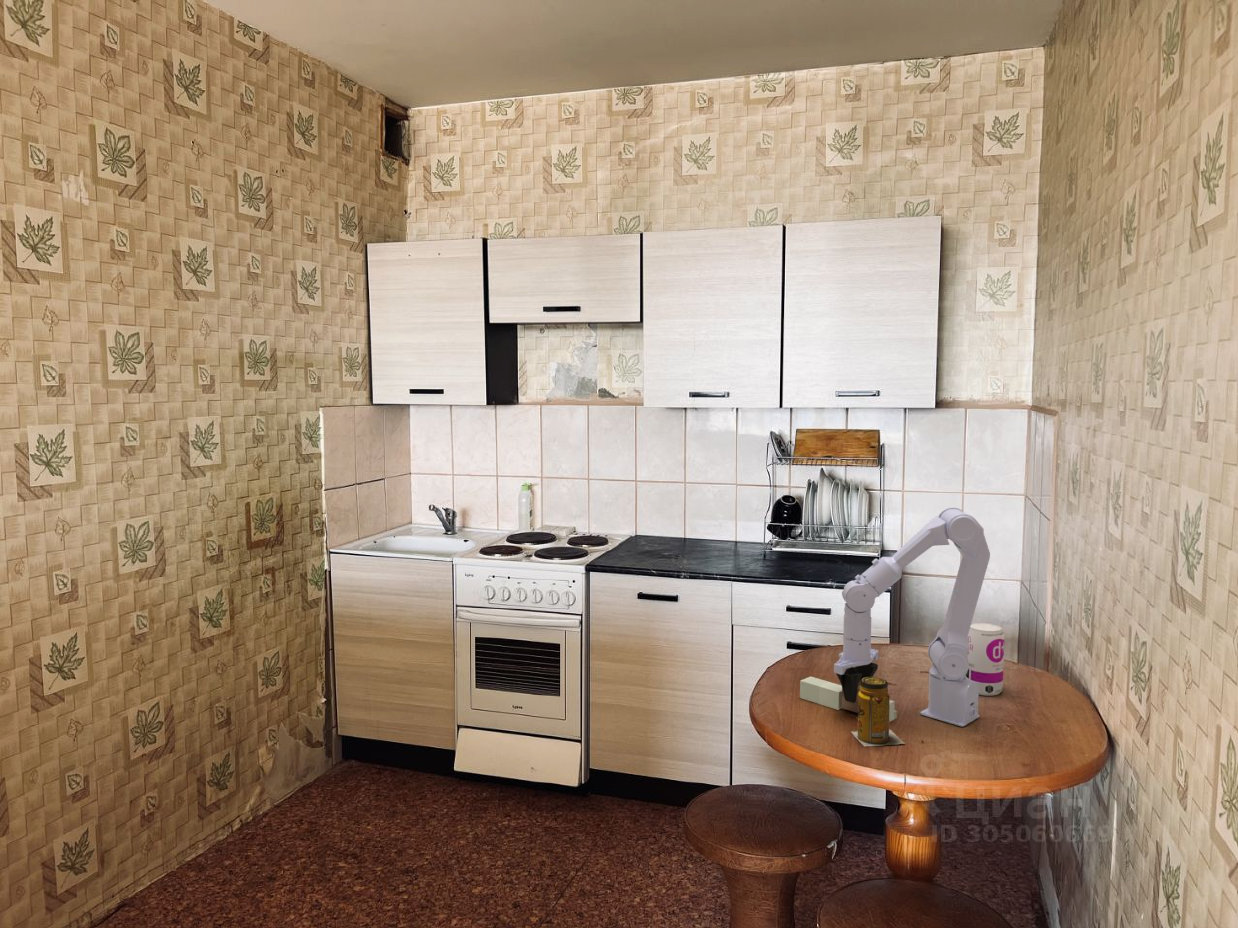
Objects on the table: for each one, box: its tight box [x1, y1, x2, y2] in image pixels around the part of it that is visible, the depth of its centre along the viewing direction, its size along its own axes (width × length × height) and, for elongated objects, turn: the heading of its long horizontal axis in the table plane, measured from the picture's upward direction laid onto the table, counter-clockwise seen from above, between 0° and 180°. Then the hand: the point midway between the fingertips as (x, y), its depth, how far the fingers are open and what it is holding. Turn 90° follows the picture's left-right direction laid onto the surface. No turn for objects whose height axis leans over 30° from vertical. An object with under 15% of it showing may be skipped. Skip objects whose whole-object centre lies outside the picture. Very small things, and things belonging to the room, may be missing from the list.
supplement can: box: [966, 621, 1006, 697], centre depth 197 cm, size 8×8×15 cm
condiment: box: [850, 676, 906, 747], centre depth 171 cm, size 7×8×12 cm
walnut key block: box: [842, 679, 861, 714], centre depth 186 cm, size 4×4×6 cm
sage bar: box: [799, 675, 898, 723], centre depth 188 cm, size 21×5×4 cm, turn 43°
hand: (855, 698), depth 185 cm, fingers closed on walnut key block, 4 cm apart
